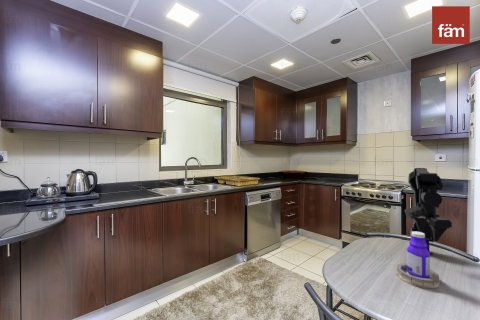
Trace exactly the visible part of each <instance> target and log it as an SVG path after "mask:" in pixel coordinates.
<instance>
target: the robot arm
mask: <svg viewBox="0 0 480 320" xmlns="http://www.w3.org/2000/svg"><path fill="white" fill-rule="evenodd" d="M407 184H409V188H410V189H411V190H412V191H413V196H414V206H411V207H409V208H405V209H404V213H405V216H406V218H409V219H411V220H413V223H412V227H410V232H409V234H410V238H411V237H412V232H413V231H417V232H422V233H424V234H425V242H426V244H427V245H428V246H427V249H428V251H429V253H430V255H433V252H432V251H430V242H431V243H434V242H438V241H440V238H441V237H442V236H443V234H444V233H445V232H446V231H447V230H448V229H450V228H453V221H451V220H450V219H448V218H444V217H440V214H439V213H437V212H438V211H437V209H438V208H440V205H441V204H442V202H443V197H442V195H440V193H438V191H443V187H444V186H443V181H442V178H441V177H440V176H439V175H438V173H437V172H430V171H428V168H425V167H415V168H414V169H413V171H412V172H410V173H408V177H407Z"/></svg>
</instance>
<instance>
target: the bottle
mask: <svg viewBox="0 0 480 320" xmlns="http://www.w3.org/2000/svg"><path fill="white" fill-rule="evenodd" d="M408 243H409V245H408V246H407V248H406V263H407V272H408V273H409V274H410V275H412V276H415V277H419V278H426V279H429V277H430V269H431V254H430V253H429V251H430V250H429V251H428V249H427V246H428V245H427V244H426V242H425V234H424V233H422V232H417V231H413V232H412V237H411V236H410V240H409V241H408Z"/></svg>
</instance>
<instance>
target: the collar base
mask: <svg viewBox="0 0 480 320" xmlns="http://www.w3.org/2000/svg"><path fill="white" fill-rule="evenodd" d="M396 275H397V277H398V279H400V280H402V281H403V282H404V283H407V284H409V285H411V286H415V287H417V288H422V289H431V290H432V289H438V288H439V286H440V276H439V274H438V273H437V272H436V271H434V270H433V269H431V268H430V277H429V279H426V278H419V277H415V276H412V275H410V274H409V273H408V272H407V262H406V263H405V262H404V263H400V264H397V266H396Z"/></svg>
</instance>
